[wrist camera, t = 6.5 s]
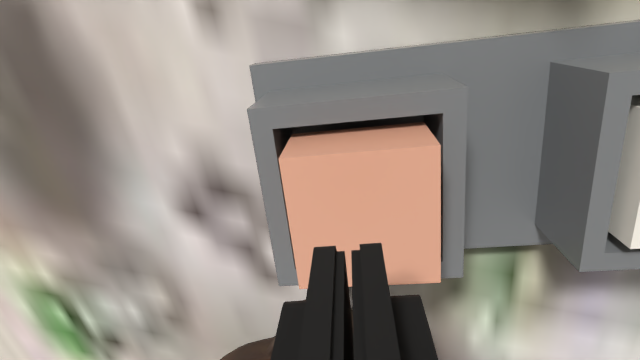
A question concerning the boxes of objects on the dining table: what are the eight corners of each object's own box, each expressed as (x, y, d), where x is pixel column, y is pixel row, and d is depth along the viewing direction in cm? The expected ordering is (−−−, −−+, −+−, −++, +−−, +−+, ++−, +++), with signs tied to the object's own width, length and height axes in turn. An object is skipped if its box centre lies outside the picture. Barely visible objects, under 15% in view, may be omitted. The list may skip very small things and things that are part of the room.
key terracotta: (423, 122, 14) (440, 145, 12) (425, 238, 16) (440, 282, 14) (291, 134, 15) (278, 158, 12) (308, 245, 17) (299, 288, 14)
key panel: (758, 6, 16) (929, -2, 11) (699, 224, 19) (808, 287, 15) (254, 63, 18) (220, 76, 13) (285, 248, 22) (267, 309, 17)
